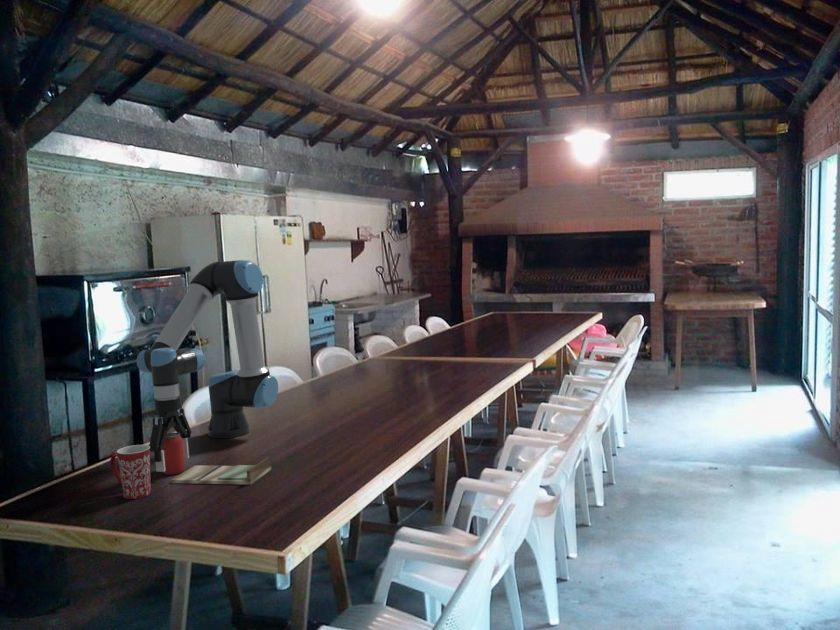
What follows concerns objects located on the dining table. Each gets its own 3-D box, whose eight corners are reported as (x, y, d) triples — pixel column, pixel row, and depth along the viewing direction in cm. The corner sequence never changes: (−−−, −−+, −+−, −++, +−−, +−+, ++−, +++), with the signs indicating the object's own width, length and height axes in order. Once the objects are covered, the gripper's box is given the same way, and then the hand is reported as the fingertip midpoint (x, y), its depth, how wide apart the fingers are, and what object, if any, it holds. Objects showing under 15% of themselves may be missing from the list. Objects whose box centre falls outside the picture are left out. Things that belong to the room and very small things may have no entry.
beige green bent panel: (170, 483, 218) (169, 470, 218) (195, 468, 232) (194, 456, 231) (251, 484, 212) (249, 471, 212) (271, 469, 226) (270, 456, 225)
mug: (161, 490, 212) (157, 445, 210) (138, 501, 203) (134, 454, 202) (127, 487, 216) (123, 443, 215) (104, 498, 208) (99, 452, 207)
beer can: (177, 467, 234) (174, 431, 232) (189, 471, 229) (185, 433, 228) (158, 473, 228) (155, 436, 227) (170, 476, 224) (167, 438, 223)
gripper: (178, 389, 240) (183, 453, 242) (132, 407, 215) (138, 477, 217) (198, 389, 238) (204, 453, 240) (154, 406, 214) (161, 477, 216)
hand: (173, 464), depth 229 cm, fingers open, 13 cm apart
